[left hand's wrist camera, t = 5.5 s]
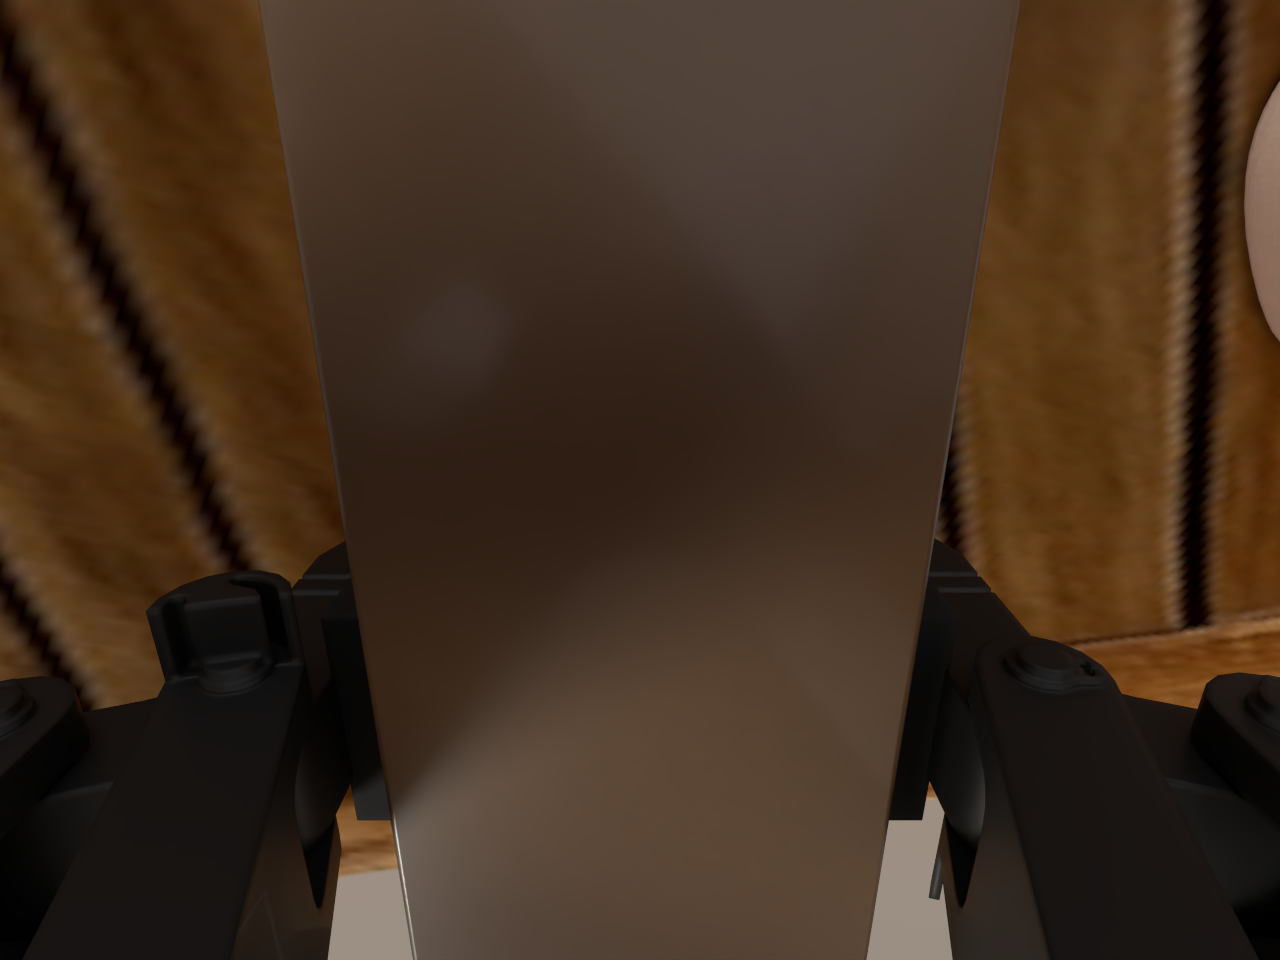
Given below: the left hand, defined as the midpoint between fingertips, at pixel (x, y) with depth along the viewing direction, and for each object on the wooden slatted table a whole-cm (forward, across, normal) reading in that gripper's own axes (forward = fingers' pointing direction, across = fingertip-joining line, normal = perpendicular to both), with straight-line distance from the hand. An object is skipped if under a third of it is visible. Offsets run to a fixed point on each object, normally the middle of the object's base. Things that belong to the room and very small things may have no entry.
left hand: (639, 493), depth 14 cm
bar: (+1, 0, -8) cm, 8 cm away
